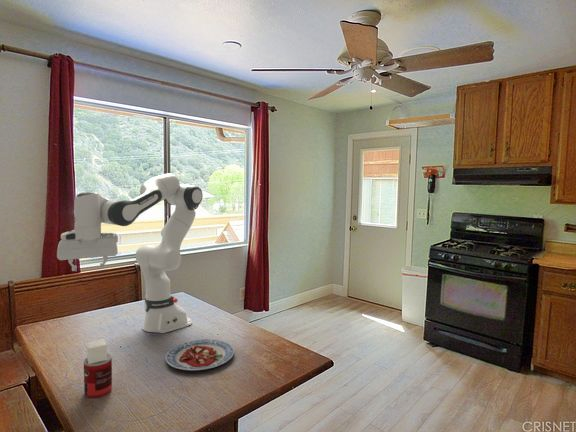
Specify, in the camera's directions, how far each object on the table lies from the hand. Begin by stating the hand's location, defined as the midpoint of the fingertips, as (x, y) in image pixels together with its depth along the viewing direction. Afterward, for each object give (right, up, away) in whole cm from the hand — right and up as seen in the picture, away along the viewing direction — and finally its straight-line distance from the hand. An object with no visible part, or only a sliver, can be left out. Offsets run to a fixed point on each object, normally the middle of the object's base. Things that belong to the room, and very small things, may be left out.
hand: (88, 269), depth 133 cm
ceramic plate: (+43, -35, +1) cm, 56 cm away
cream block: (+16, -25, -23) cm, 38 cm away
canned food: (+16, -36, -22) cm, 46 cm away
